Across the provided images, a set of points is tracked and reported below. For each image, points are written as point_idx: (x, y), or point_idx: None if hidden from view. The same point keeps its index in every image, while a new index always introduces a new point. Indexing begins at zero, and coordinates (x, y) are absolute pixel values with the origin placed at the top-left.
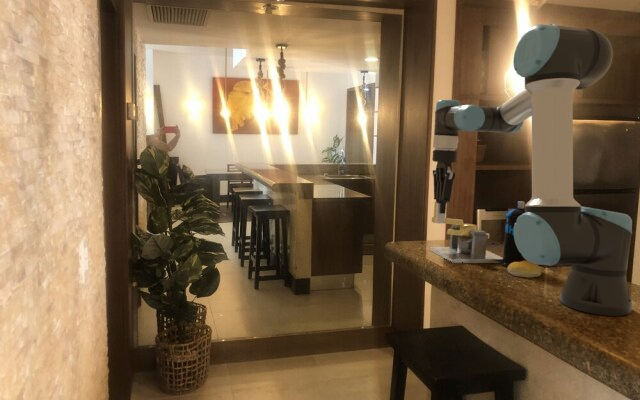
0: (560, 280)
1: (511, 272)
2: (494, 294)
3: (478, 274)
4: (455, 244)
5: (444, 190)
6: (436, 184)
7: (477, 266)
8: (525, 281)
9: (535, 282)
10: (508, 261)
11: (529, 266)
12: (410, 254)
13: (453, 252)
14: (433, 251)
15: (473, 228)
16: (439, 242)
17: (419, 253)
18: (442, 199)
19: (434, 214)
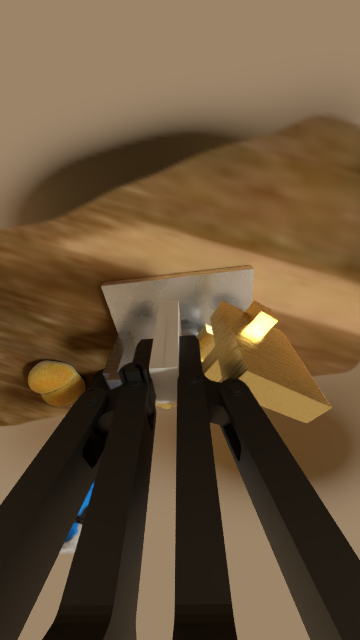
0: (41, 405)
1: (40, 362)
2: None
3: (13, 306)
4: None
5: (12, 490)
6: (285, 538)
7: (90, 326)
8: (4, 364)
9: (6, 374)
10: (97, 380)
11: (44, 393)
12: (192, 180)
13: (183, 310)
14: (225, 269)
15: None
16: (344, 318)
17: (209, 219)
18: (76, 403)
19: (228, 323)
